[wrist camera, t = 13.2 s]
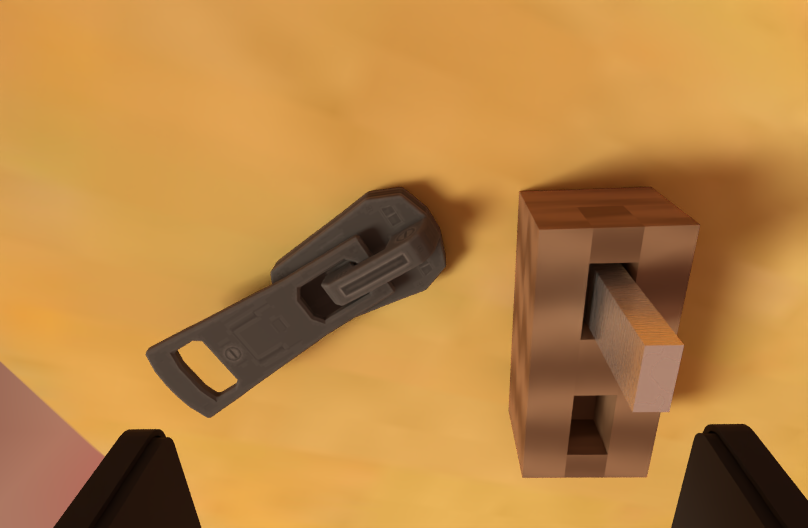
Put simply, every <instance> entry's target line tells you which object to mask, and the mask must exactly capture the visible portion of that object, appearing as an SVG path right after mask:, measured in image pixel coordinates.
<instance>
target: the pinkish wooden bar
mask: <svg viewBox="0 0 808 528" xmlns="http://www.w3.org/2000/svg"><path fill="white" fill-rule="evenodd" d="M583 317H584V319H585V321H586V323H587V325H588V327H589V329H590V331H591V333H592V335H593V336H594V338H595V340H596V342H597V344H598V346H599V348H600V350H601V352H602V354H603V356H604V358H605V360H606V362H607V364H608V365H609V367H610V369H611V371H612V373H613V375H614V377H615V379H616V381H617V383H618V385H619V387H620V389H621V391H622V393H623V394H624V396H625V398H626V400H627V402H628V404H629V406H630V408H631V410H632V412H669V410H670V406H671V401H672V397H673V392H674V388H675V384H676V379H677V375H678V370H679V366H680V361H681V357H682V352H683V348H684V344H683V343H682V342H681V340H680V339H679V338H678V337H677V335H676V334H675V333H674V331H673V330H672V329H671V328H670V326H669V325H668V324H667V322H666V321H665V320H664V319H663V317H662V316H661V315H660V313H659V312H658V311H657V310H656V308H655V307H654V306H653V304H652V303H651V302H650V301H649V299H648V298H647V297H646V295H645V294H644V293H643V292H642V290H641V289H640V288H639V286H638V285H637V284H636V283H635V281H634V280H633V279H632V277H631V276H630V275H629V274H628V272H627V271H626V270H625V268H624V267H623V266H622V265H621V263H591V264H589V270H588V279H587V288H586V296H585V305H584V313H583Z"/></svg>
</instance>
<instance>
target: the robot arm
mask: <svg viewBox="0 0 808 528" xmlns="http://www.w3.org/2000/svg"><path fill="white" fill-rule="evenodd" d="M54 528H201V525H200V522H199V519H198V516H197V513H196V510H195V507H194V503H193V500H192V497H191V494H190V491H189V488H188V485H187V482H186V479H185V476H184V472H183V469H182V466H181V463H180V460H179V457H178V454H177V451H176V448H175V445H174V442H173V440H172V439H171V438H170V437H166V436H165V434H164V432H163V431H162V430H160V429H132V430H127V431H125V432H124V433H123V434H122V435H121V436H120V437H119V438H118V440H117V441H116V443H115V444H114V445H113V447H112V448H111V449H110V451H109V452H108V454H107V455H106V456H105V458H104V459H103V460H102V462H101V463H100V465H99V466H98V467H97V469H96V470H95V471H94V473H93V474H92V476H91V477H90V478H89V480H88V481H87V482H86V484H85V485H84V486H83V488H82V489H81V490H80V492H79V493H78V495H77V496H76V497H75V499H74V500H73V501H72V503H71V504H70V506H69V507H68V508H67V510H66V511H65V512H64V514H63V515H62V516H61V518H60V519H59V521H58V522H57V523H56V525H55V526H54ZM671 528H808V500H807V499H806V498H805V496H804V495H803V494H802V492H801V491H800V490H799V489H798V487H797V486H796V485H795V483H794V482H793V481H792V480H791V478H790V477H789V476H788V475H787V473H786V472H785V471H784V469H783V468H782V467H781V466H780V464H779V463H778V462H777V461H776V459H775V458H774V457H773V455H772V454H771V453H770V452H769V450H768V449H767V448H766V447H765V445H764V444H763V443H762V441H761V440H760V439H759V438H758V436H757V435H756V434H755V432H754V431H753V430H752V429H751V428H750V427H749V426H747V425H745V424H710V425H707V426H706V427H705V429H704V431H703V433H698V434H696V435H695V438H694V441H693V445H692V449H691V453H690V457H689V461H688V464H687V468H686V472H685V476H684V480H683V484H682V488H681V492H680V496H679V500H678V504H677V507H676V511H675V515H674V519H673V523H672V527H671Z"/></svg>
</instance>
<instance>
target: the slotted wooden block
mask: <svg viewBox="0 0 808 528" xmlns="http://www.w3.org/2000/svg"><path fill="white" fill-rule="evenodd" d="M699 229H700V224H698V223H697V222H696V221H695V220H693V219H692V218H691V217H689V216H688V215H687V214H685V213H684V212H683V211H682V210H680V209H679V208H678V207H676V206H675V205H674V204H672V203H671V202H670V201H668V200H667V199H666V198H665V197H663V196H662V195H661V194H659V193H658V192H657V191H655V190H654V189H653V188H652V187H634V188H605V189H577V190H549V191H520V192H519V209H518V230H517V250H516V271H515V292H514V312H513V333H512V354H511V374H510V395H509V414H510V419H511V424H512V429H513V434H514V439H515V444H516V449H517V453H518V458H519V463H520V468H521V473H522V478H566V477H647V474H648V469H649V464H650V460H651V455H652V450H653V446H654V441H655V436H656V431H657V427H658V422H659V417H660V413H661V412H632V410H631V408H630V406H629V404H628V402H627V400H626V398H625V396H624V394H623V393H622V391H621V389H620V387H619V385H618V383H617V381H616V379H615V377H614V375H613V373H612V371H611V369H610V367H609V365H608V364H607V362H606V360H605V358H604V356H603V354H602V352H601V350H600V348H599V346H598V344H597V342H596V340H595V338H594V336H593V335H592V333H591V331H590V329H589V327H588V325H587V323H586V321H585V319H584V317H583V313H584V305H585V296H586V288H587V279H588V270H589V264H591V263H621V265H622V266H623V267H624V268H625V270H626V271H627V272H628V274H629V275H630V276H631V277H632V279H633V280H634V281H635V283H636V284H637V285H638V286H639V288H640V289H641V290H642V292H643V293H644V294H645V295H646V297H647V298H648V299H649V301H650V302H651V303H652V304H653V306H654V307H655V308H656V310H657V311H658V312H659V313H660V315H661V316H662V317H663V319H664V320H665V321H666V322H667V324H668V325H669V326H670V328H671V329H672V330H673V331H674V333H675V334H676V335H677V332H678V328H679V323H680V318H681V314H682V309H683V304H684V299H685V295H686V290H687V285H688V281H689V276H690V271H691V266H692V262H693V257H694V252H695V248H696V243H697V238H698V233H699Z"/></svg>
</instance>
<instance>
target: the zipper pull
mask: <svg viewBox="0 0 808 528" xmlns="http://www.w3.org/2000/svg"><path fill="white" fill-rule="evenodd" d="M445 267H446V257H445V250H444V245H443V241H442V236H441V231H440V227H439V226H438V224H437V223H436V221H435V219H434V218H433V216H432V215H431V213H430V211H429V210H428V208H427V207H426V206H425V205H424V204H423V203H421V202H420V201H419V200H418V199H416V198H415V197H414V196H413V195H411V194H410V193H409V192H408V191H406V190H405V189H404V188H402V187H398V188H390V189H383V190H376V191H369V192H367V193H366V194H364V195H363V196H362V197H361V198H359V199H358V200H357V201H355V202H354V203H353V204H352V205H350V206H349V207H348V208H347V209H345V210H344V211H343V212H342V213H340V214H339V215H338V216H336V217H335V218H334V219H332V220H331V221H330V222H328V223H327V224H326V225H324V226H323V227H322V228H320V229H319V230H318V231H316V232H315V233H314V234H312V235H311V236H310V237H308V238H307V239H306V240H305V241H303V242H302V243H301V244H299V245H298V246H297V247H295V248H294V249H293V250H291V251H290V252H289V253H287V254H286V255H285V256H283V257H282V258H281V259H280V260H278V261H277V263H276V264H275V266H274V268H273V269H272V271H271V280H272V284H271V285H269V286H267V287H266V288H264V289H262V290H260V291H258V292H256V293H254V294H252V295H250V296H248V297H246V298H244V299H242V300H241V301H239V302H237V303H235V304H233V305H231V306H229V307H227V308H225V309H223V310H221V311H219V312H217V313H216V314H214V315H212V316H210V317H208V318H206V319H204V320H202V321H200V322H198V323H196V324H194V325H192V326H190V327H188V328H186V329H184V330H182V331H180V332H178V333H176V334H174V335H172V336H171V337H169V338H167V339H165V340H163V341H161V342H159V343H157V344H155V345H153V346H152V347H150V348H149V349H148V350H147V352H146V356H147V358H148V360H149V362H150V364H151V365H152V367H153V369H154V371H155V372H156V374H157V375H158V376H159V377H160V378H161V380H162V381H163V382H164V383H165V385H166V386H167V387H168V388H169V389H170V390H171V391H172V392H173V393H174V394H175V395H176V396H177V397H178V398H180V399H181V400H182V401H183V402H184V403H186V404H187V405H188V406H189V407H191V408H192V409H194V410H196V411H197V412H199V413H201V414H202V415H204V416H205V417H207V418H210V417H212V416H214V415H215V414H216V413H218V412H219V411H221V410H222V409H224V408H225V407H226V406H228V405H229V404H231V403H232V402H234V401H235V400H236V399H238V398H239V397H241V396H242V395H243V394H245V393H246V392H247V391H249V390H250V389H251V388H253V387H254V386H255V385H257V384H258V383H260V382H261V381H262V380H264V379H265V378H267V377H268V376H270V375H271V374H272V373H274V372H275V371H277V370H278V369H279V368H281V367H282V366H284V365H285V364H286V363H288V362H289V361H291V360H292V359H293V358H295V357H296V356H298V355H299V354H300V353H302V352H303V351H305V350H306V349H307V348H309V347H310V346H312V345H313V344H315V343H316V342H317V341H319V340H320V339H322V338H323V337H324V336H326V335H327V334H329V333H330V332H332V331H334V330H335V329H337V328H338V327H340V326H342V325H343V324H345V323H347V322H348V321H350V320H351V319H353V318H355V317H357V316H360V315H362V314H365V313H367V312H370V311H372V310H375V309H377V308H380V307H382V306H385V305H387V304H390V303H392V302H395V301H398V300H400V299H403V298H406V297H408V296H411V295H414V294H416V293H419V292H422V291H424V290H426V289H427V288H428V287H429V286H430V285H431V283H432V282H433V281H434V280H435V279H436V278H437V276H438V275H439V274H440V273H441V272H442V270H443V269H444V268H445ZM191 341H203V342H204V344H205V345H206V346H207V347H208V348H209V349H210V350H211V351H212V352H213V353H214V354H215V356H216V357H217V358H218V359H219V360H220V361H221V362H222V363H223V364H224V365H225V366H226V368H227V369H228V370H229V371H230V372H231V373H232V374H233V375H234V376H235V377H236V379H237V380H238V381H237V383H236V384H234V385H232V386H231V387H229V388H227V389H226V390H224V391H223V392H216V391H215V390H213V389H212V388H210V387H209V386H207V385H206V384H205V383H204V382H203V381H202V380H201V379H200V378H199V377H198V376H197V375H196V374H195V373H194V372H193V371H192V370H191V369H190V367H189V366H188V365H187V364H186V363H185V362H184V361H183V359H182V357H181V356H180V354H179V352H178V349H180V348H181V347H183V346H185V345H186V344H188V343H189V342H191Z"/></svg>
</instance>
